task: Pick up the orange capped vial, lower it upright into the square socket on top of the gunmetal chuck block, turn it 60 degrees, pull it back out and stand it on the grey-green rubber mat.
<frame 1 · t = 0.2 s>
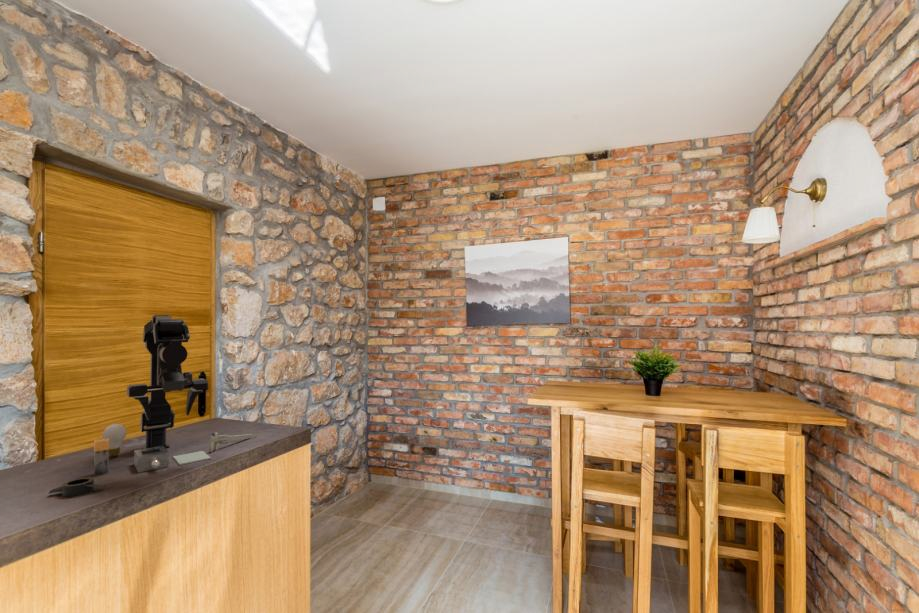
hand: (168, 417, 121), 14 cm above the counter, fingers open, 9 cm apart
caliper: (234, 445, 145), on the counter
rubber mat: (191, 458, 129), on the counter
dark flanged ring: (78, 494, 103), on the counter
light bulb: (114, 457, 132), on the counter
chuck block: (151, 465, 123), on the counter
orange capped vial: (101, 473, 117), on the counter
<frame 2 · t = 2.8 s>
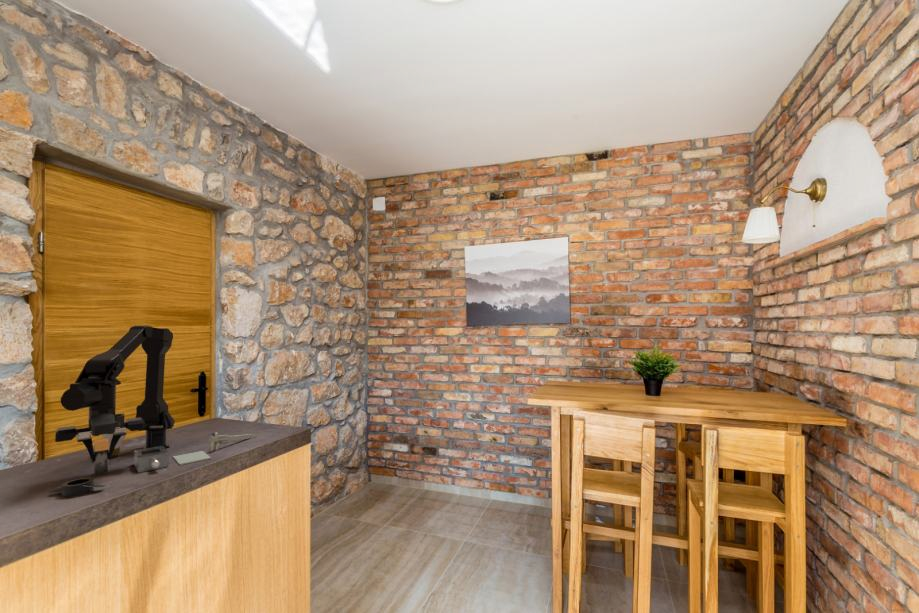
hand: (101, 460, 117), 4 cm above the counter, fingers closed on orange capped vial, 3 cm apart
orange capped vial: (101, 473, 117), on the counter, touching gripper
everything else where it was.
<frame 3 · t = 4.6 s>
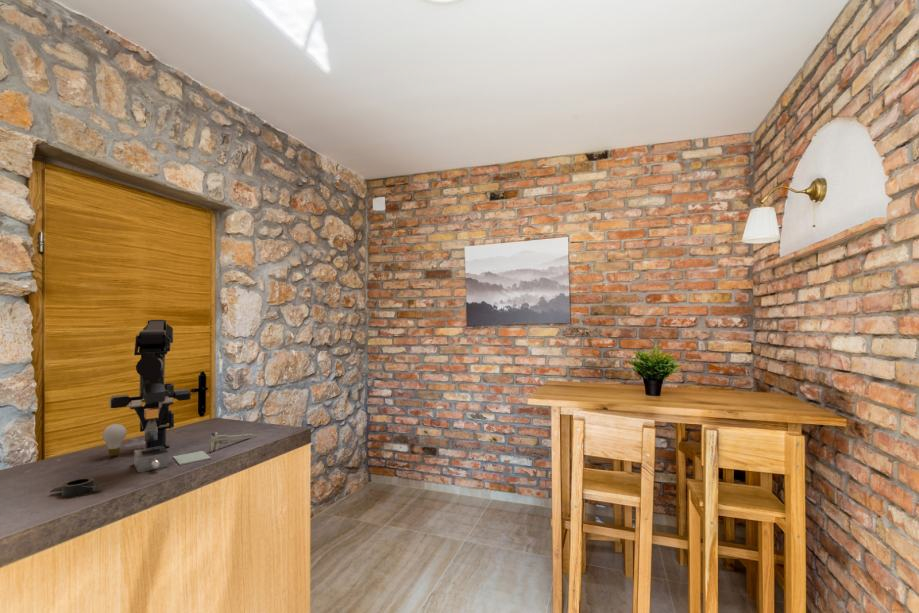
hand: (151, 427, 124), 11 cm above the counter, fingers closed on orange capped vial, 3 cm apart
orange capped vial: (151, 440, 123), point 7 cm above the counter, touching gripper
everything else where it was.
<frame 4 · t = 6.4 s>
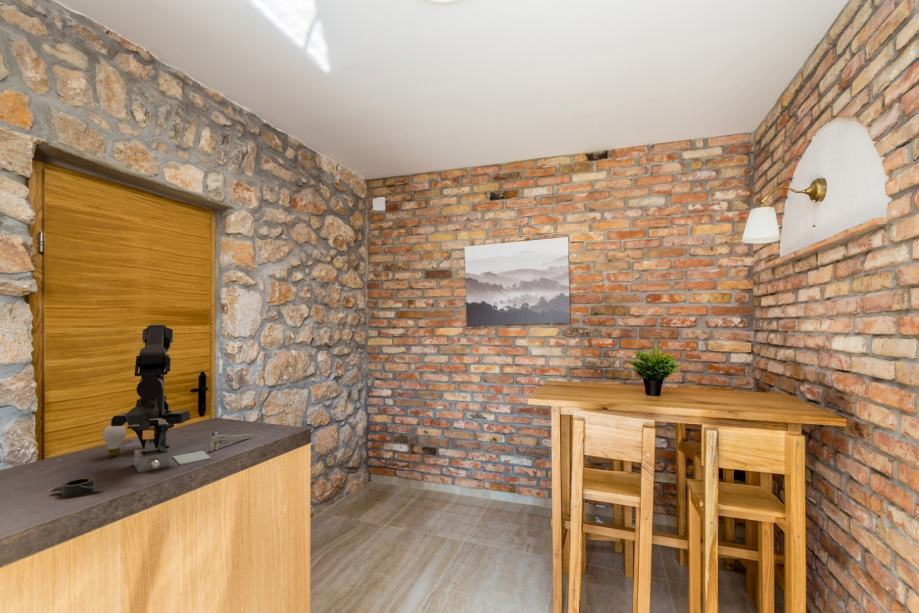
hand: (151, 448, 123), 5 cm above the counter, fingers closed on orange capped vial, 3 cm apart
orange capped vial: (151, 460, 123), point 1 cm above the counter, touching gripper
everything else where it was.
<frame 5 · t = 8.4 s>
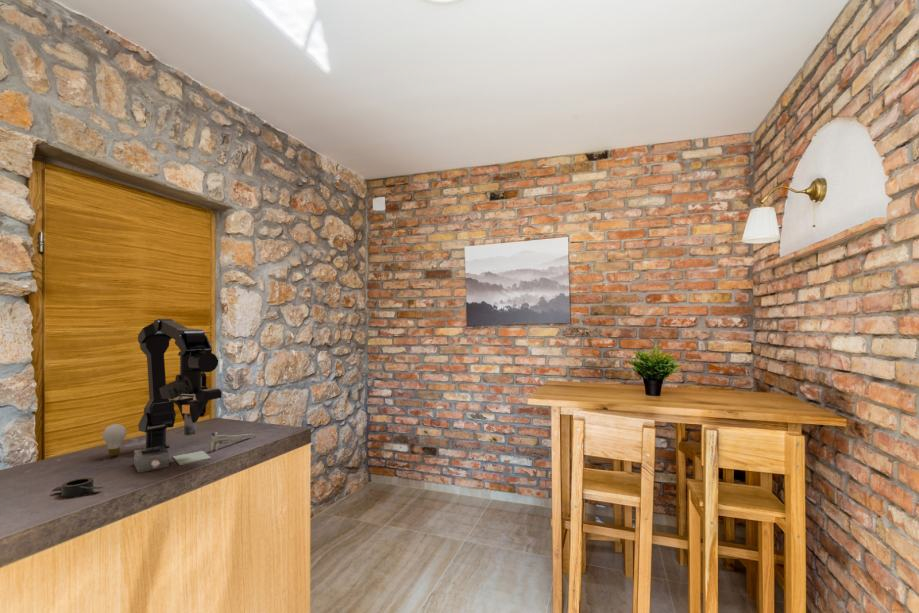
hand: (190, 422, 129), 11 cm above the counter, fingers closed on orange capped vial, 3 cm apart
orange capped vial: (190, 433, 129), point 7 cm above the counter, touching gripper
when the fingers open (5 cm above the counter, at t = 10.2 s): orange capped vial stays where it is, resting on rubber mat.
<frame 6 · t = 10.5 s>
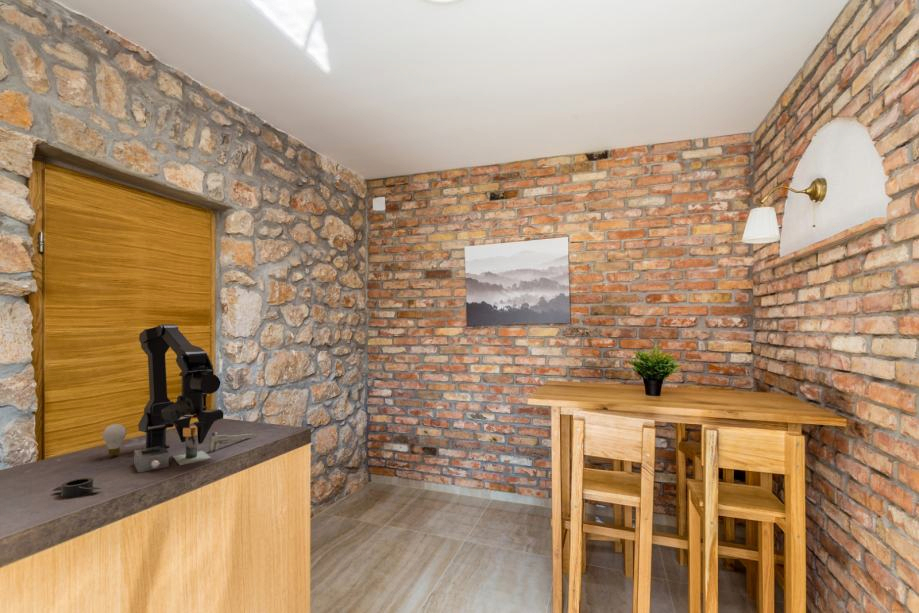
hand: (191, 442, 129), 5 cm above the counter, fingers open, 6 cm apart
orange capped vial: (191, 457, 129), resting on rubber mat
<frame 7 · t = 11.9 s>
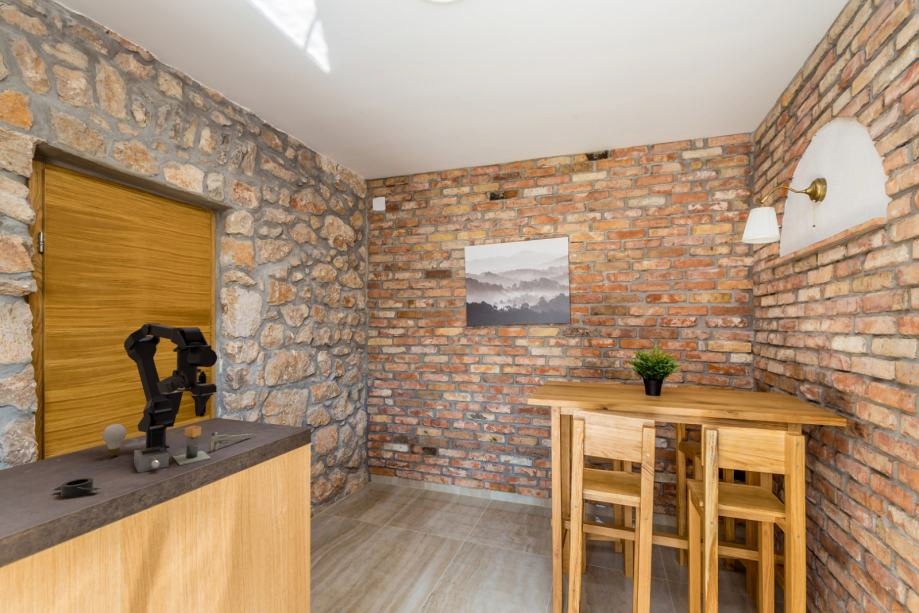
hand: (186, 415, 135), 12 cm above the counter, fingers open, 9 cm apart
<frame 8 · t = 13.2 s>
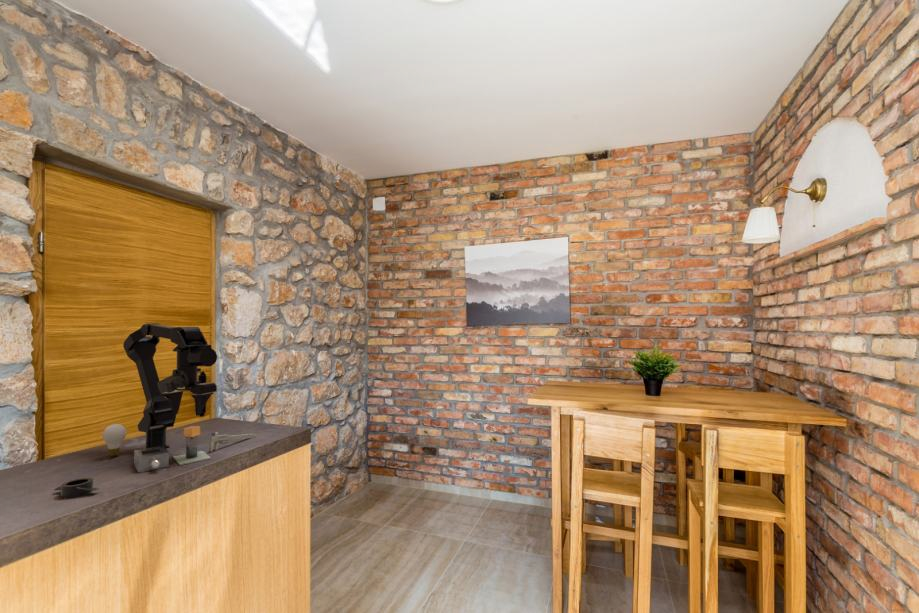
hand: (186, 414, 136), 12 cm above the counter, fingers open, 9 cm apart
at the end: orange capped vial inside the target area on the rubber mat (0.0 cm from its centre), point 0.4 cm above the rubber mat's base; orange capped vial tilted 0°; the gripper is holding nothing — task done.
